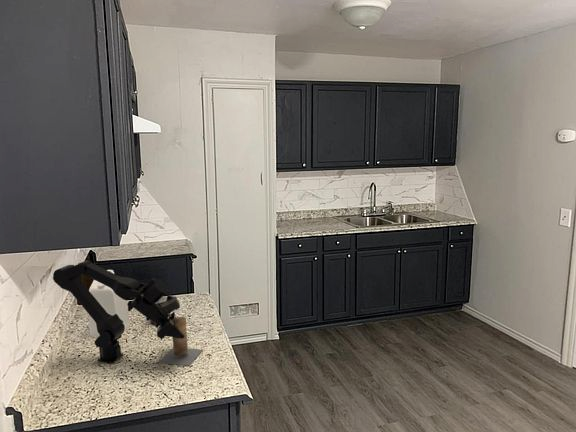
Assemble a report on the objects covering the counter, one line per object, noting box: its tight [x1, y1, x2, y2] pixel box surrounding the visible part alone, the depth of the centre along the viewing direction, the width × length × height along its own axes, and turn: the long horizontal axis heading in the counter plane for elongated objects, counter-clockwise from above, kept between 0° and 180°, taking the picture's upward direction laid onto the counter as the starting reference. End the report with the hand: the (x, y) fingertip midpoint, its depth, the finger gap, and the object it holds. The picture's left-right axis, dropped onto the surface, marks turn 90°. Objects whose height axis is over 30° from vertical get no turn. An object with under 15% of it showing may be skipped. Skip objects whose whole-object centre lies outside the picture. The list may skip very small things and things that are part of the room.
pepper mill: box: [172, 316, 188, 355], centre depth 162 cm, size 5×5×12 cm
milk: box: [88, 269, 132, 337], centre depth 186 cm, size 12×12×26 cm
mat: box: [157, 347, 204, 367], centre depth 164 cm, size 12×12×1 cm
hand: (183, 334), depth 163 cm, fingers closed on pepper mill, 5 cm apart
